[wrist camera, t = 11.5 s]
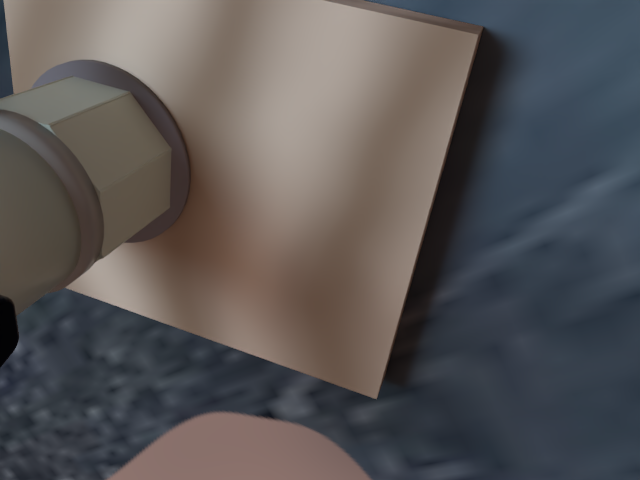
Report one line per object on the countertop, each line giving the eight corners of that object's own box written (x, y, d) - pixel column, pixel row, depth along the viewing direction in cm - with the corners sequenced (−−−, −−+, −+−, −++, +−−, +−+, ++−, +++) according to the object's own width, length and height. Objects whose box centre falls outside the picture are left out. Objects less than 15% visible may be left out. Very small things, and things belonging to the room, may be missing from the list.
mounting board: (483, 26, 18) (464, 57, 14) (385, 375, 25) (353, 462, 21) (28, -73, 21) (-95, -72, 17) (57, 260, 28) (-26, 317, 24)
